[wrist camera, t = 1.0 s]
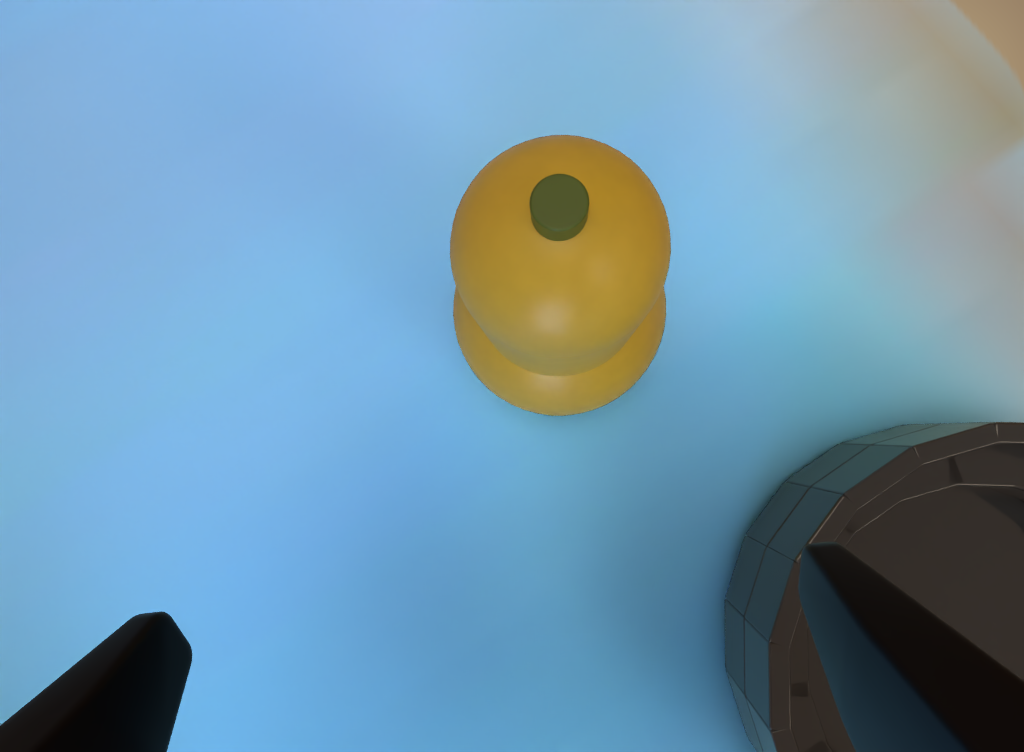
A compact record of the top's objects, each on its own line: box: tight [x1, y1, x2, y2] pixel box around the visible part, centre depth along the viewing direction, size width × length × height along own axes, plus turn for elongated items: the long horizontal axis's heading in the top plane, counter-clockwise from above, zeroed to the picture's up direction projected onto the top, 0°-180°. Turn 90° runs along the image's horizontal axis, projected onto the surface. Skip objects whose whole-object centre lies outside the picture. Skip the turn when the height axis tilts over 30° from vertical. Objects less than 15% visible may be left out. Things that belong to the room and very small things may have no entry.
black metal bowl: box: [725, 422, 1024, 752], centre depth 19 cm, size 15×15×5 cm
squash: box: [450, 135, 671, 416], centre depth 17 cm, size 7×7×13 cm
